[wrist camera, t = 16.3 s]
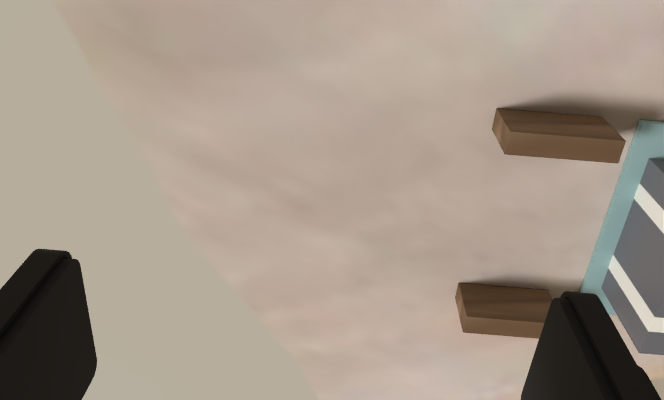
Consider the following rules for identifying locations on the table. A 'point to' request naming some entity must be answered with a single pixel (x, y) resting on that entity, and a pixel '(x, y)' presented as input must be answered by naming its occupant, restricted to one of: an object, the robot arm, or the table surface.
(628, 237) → the banded grey block
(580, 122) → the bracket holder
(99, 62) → the table surface
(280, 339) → the table surface
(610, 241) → the rubber mat
